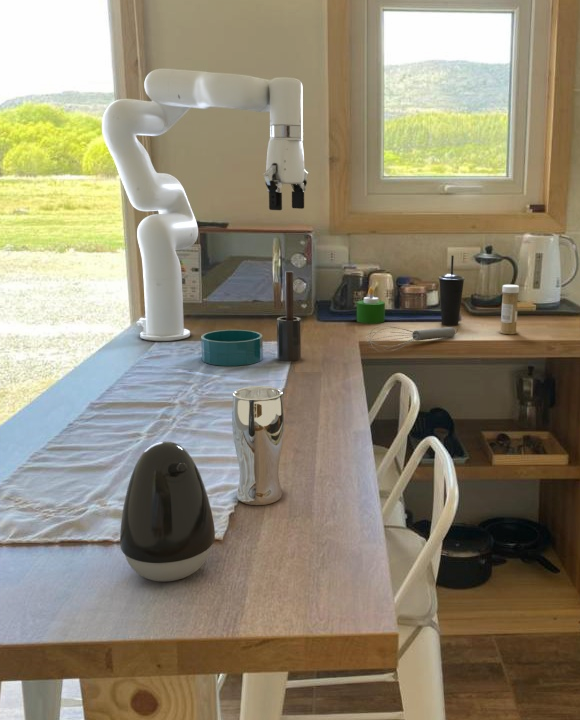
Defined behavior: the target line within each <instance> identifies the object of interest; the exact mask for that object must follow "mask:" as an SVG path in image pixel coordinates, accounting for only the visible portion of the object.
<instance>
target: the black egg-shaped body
mask: <svg viewBox="0 0 580 720" xmlns="http://www.w3.org/2000/svg"><path fill="white" fill-rule="evenodd" d="M123 502H124V504H123V508H122V514H121V520H120V521H121V522H120V531H119V545H120V550H121V552H122V553H123V555H124V556H125V559H126V561H127V563H128V565H129V566H130V568H131V569H132V570H133V571H134V572H135V573H136V574H138V576H140V577H142V578H144V579H146V580H149V581H154V582H166V583H167V582H174V581H179V580H181V579H184V578H188V577H189V576H191V575H192V574H194V573H196V572H197V571H198V570H200V568H201V567H203V565H204V564H205V562H206V561H207V559H208V558H209V555H210V553H211V549H212V545H213V544H214V542H215V539H216V530H215V521H214V517H213V512H212V507H211V502H210V499H209V496H208V492H207V490H206V487H205V483H204V481H203V478H202V476H201V473H200V471H199V469H198V467H197V464H196V463H195V461H194V460H193V458H192V456H191V455H190V454H189V452H188V451H187V450H186V448H184V447H183V446H181V445H180V444H178V443H175V442H172V441H159V442H156V443H154V444H151V445H149V446H148V447H147V448H146V449H145V450H144V451H143V452H142V453H141V455H140V456H139V458H138V459H137V461H136V463H135V466H134V467H133V470H132V473H131V476H130V479H129V482H128V486H127V489H126V494H125V498H124V501H123Z"/></svg>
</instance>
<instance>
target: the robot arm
mask: <svg viewBox="0 0 580 720" xmlns="http://www.w3.org/2000/svg"><path fill="white" fill-rule="evenodd" d="M143 83H144V84H143V87H144V91H145V93H146V95H147V97H148V98H149V99H150V100H151V101H150V100H142V99H134V98H121V99H116V100H114V101H113V102H111V103H110V104H109V105H108V106H107V107H106V109H105V111H104V113H103V116H102V120H101V132H102V137H103V141H104V142H105V145H106V148H107V149H108V152H109V154H110V155H111V157H112V159H113V161H114V165H115V166H116V169H117V173H118V175H119V178H120V180H121V183H122V185H123V187H124V190H125V193H126V195H127V198H128V200H129V202H130V204H131V206H132V207H133V208H134V209H136V210H137V211H141V212H158V213H156V214H151V215H148V216H146V217H144V218H143V219H142V220H141V221H140V223H139V224H138V226H137V230H136V238H137V243H138V247H139V250H140V257H141V265H142V276H143V294H144V311H145V313H144V314H145V317H140V318H139V319H138V320H137V321H136V322H135V325H136V327H142V331H140V333H139V337H140V338H141V339H142V340H145V341H153V342H170V341H179V340H184V339H187V338H189V337H190V336H191V331H190V330H189V329H187V328H185V324H184V323H185V322H184V301H183V300H184V297H183V276H182V265H181V262H180V259H179V257H178V253H177V251H178V250H185V249H188V248H191V247H193V246H194V244H195V243H196V242H197V240H198V238H199V227H198V223H197V222H198V221H197V220H196V216H195V214H194V212H193V209H192V206H191V204H190V201H189V198H188V196H187V193H186V191H185V188H184V187H183V185H182V183H181V182H180V180H178V179H177V178H176V177H175V176H173V175H172V174H169V173H166V172H164V173H163V172H157V171H156V169H155V168H154V165H153V163H152V159H151V157H150V155H149V152H148V151H147V149H146V148H145V146H144V145H143V144H142V142H141V141H140V140H138V137H137V136H149V137H157V136H158V137H159V136H161V135H163V134H165V133H166V132H168V131H169V130H170V129H171V128H172V127H173V126H174V125H175V124H176V123H177V122H178V121H180V119H181V118H182V117H183V116H184V115H185V114H186V113H187V112H188V111H189V110H190V109H191V108H193V109H201V110H207V109H209V108H210V107H211V108H212V107H213V108H222V109H232V110H233V109H234V110H241V111H251V112H256V113H257V112H258V113H268V112H269V140H268V144H267V151H266V152H267V154H266V165H265V166H266V169H265V171H264V172H263V177H264V181H265V186H266V187H267V189H266V190H267V192H268V208H269V210H270V211H282V210H283V192H281V191H282V188H283V185H290V186H291V188H292V190H291V208H292V209H299V210H303V209H305V192H306V186H307V184H308V183H307V182H308V177H309V172H308V171H307V170H306V169H305V152H304V145H303V141H304V137H303V136H304V132H303V131H304V129H303V127H304V125H303V121H304V120H303V112H304V111H303V110H304V109H303V108H304V107H303V106H304V105H303V101H304V99H303V96H304V95H303V83H302V81H301V80H300V79H298V78H295V77H287V76H285V77H284V76H283V77H281V76H280V77H273V78H272V79H266V78H261V77H257V76H252V75H249V74H239V73H225V72H209V71H205V70H190V69H179V68H178V69H177V68H156V69H153V70H152V71H150V72H149V73H147V75H146V76H145V80H144V82H143Z"/></svg>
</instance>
